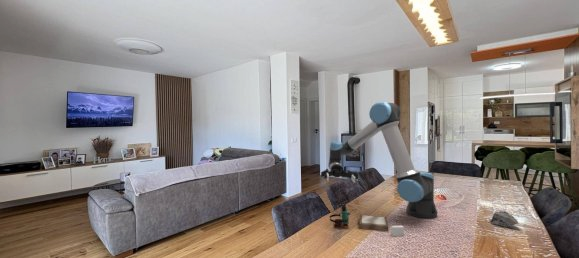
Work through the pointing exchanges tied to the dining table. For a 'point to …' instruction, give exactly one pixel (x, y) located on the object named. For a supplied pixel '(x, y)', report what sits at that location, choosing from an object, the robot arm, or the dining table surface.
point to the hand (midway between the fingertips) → (341, 179)
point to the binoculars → (344, 217)
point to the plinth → (373, 223)
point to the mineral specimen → (503, 219)
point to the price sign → (397, 230)
